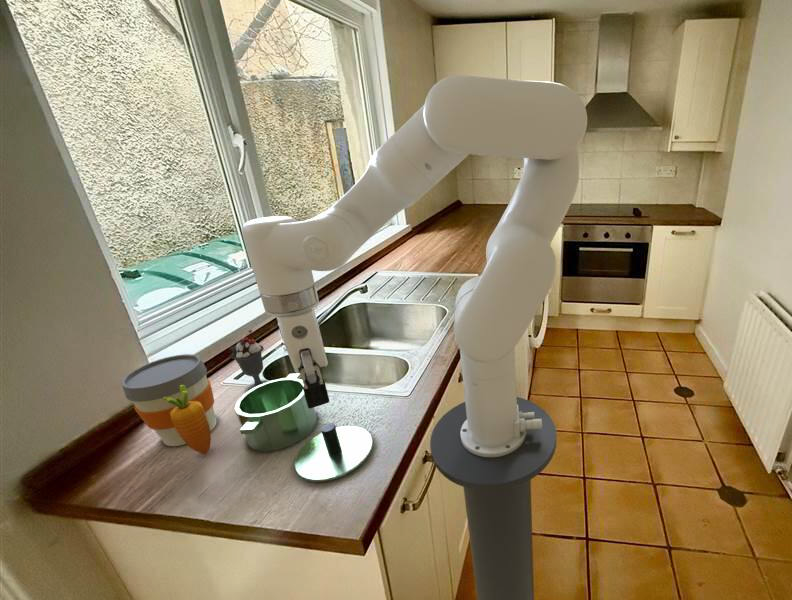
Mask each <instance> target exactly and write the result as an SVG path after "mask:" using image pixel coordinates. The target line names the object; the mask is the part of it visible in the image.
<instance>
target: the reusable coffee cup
mask: <svg viewBox="0 0 792 600" xmlns="http://www.w3.org/2000/svg"><path fill="white" fill-rule="evenodd" d="M207 373H208V369H207V367H206V366H205V363H204V362H203V360H202V359H201V357H200V356H199V355H197V354H191V353H185V354H177V355H171V356H167V357H163V358H159V359H156V360H154V361H151V362H148V363H145V364H143V365H141V366H139V367H137V368H135V369H133V370H132V371H131V372H129V373H128V374H127V375H125V376H123V379H121V386H122V389H123V392H124V395H125V398H126V399H127V400H128V401H130V402H132V404H133V405H134V411H135V412H136V413H137V415H138V416H139V417H140V419H141V420H142V421H143V422H144V424H145V425H146V426H147V427H148V428H149V429H151V430H153V431H154V432H155V433H156V435H157V436H158V437H159V438H160V439H161V441H162V442H163V443H164V445H166V446H168V447H179V446H183V445H187V444H186V443H185V442H184V440H183V439H182V438H181V437H180V435H179V433H178V432H177V430H176V428H175V426H174V424H173V422H172V420H171V415H170V412H171V411H172V410H173V409H174V408H175V407H177V406H175V405H174V404H172V403H169V402H167V400H164V399H163V398H164V397H170V398H173V399H175V400H176V398H179V399H180V400H181V392H180V388H179V386H180V385H185V386H186V389H187V392H188V401H198V402H200V403H201V404H202V407H203V409H204V412H205V415H206V418H207V421H208V424H209V428H210V432H211V431H212V430H214V428H215V427H216V426H217V418H216V413H215V409H214V403H215V398H214V393H213V389H212V384H211V381H210V379H209V378H208V377H207ZM176 401H177V400H176Z"/></svg>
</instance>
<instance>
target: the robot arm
mask: <svg viewBox="0 0 792 600" xmlns="http://www.w3.org/2000/svg"><path fill="white" fill-rule="evenodd" d="M587 127H588V113H587V108H586V106H585V103H584V102H583V100H582V98H581V96H580V95H579V94H578V93H577V92H576V91H575V90H573V89H572V88H570V87H569V86H567V85H565V84H562V83H558V82H553V81H541V80H540V81H538V80H524V79H511V78H497V77H487V76H477V75H467V74H466V75H465V74H457V75H456V74H455V75H449V76H446V77H444V78H442V79H440V80H438V81H437V82H436V83H434V85H433V86H432V87H431V88H430V89H429V91H428V93H427V95H426V97H425V101H424V103H423V105H422V106H421V107H420V108H419V109H418V110H417V111H415V112H414V113H413V115H412V116H411V117H410V118H408V120H407V121H406V122H405V123H404V124H403V125H402V126H401V127H399V128H398V129H397V130H396V131H395V132H394V133H393V134H392V135H391V136H390V137H389V138H388V139H386V140H385V142H383V143H382V144H381V145H380V146H379V147H378V148H377V149H376V150H375V151H374V153H373V154H372V155H371V157H370V159H369V161H368V164H367V167H366V170H365V171H364V173H363V174H362V176H360V178H359V179H358V180H357V181H356V182H355V184H354V185H353V186H352V187H351V188H350V189H348V191H347V192H346V193H344V194H343V195H342V196H341V197H340V198H339V199H338V200H337V201H336V202H335V203H334V204H332V205H331V206H330V207H329V208H328V209H327V210H326V211H325V210H324V211H323V212H321V213H319V214H317V215H316V216H314V217H310V218H308V219H306V220H302V221H299V220H298V219H296V218H294V217H293V216H285V215H279V216H277V215H275V216H265V217H259V218H255V219H251V220H248V221H246V222H245V223H244V224H243V226H242V228H241V235H242V239H243V243H244V246H245V249H246V252H247V255H248V259H249V262H250V265H251V270H252V271H253V276H254V278H255V282H256V285H257V289H258V291H259V296H260V299H261V302H262V305H263V309H264V312H265V314H266V315H267V316H269V317H273V318H276V321H277V325H278V328H279V331H280V334H281V337H282V340H283V344H284V347H285V349H286V352H287V356H288V357H289V360H290V363H291V365H292V368H293V370H294V373H295V374H301V378H300V379H301V380H302V381H303V385H304V386H303V387H302V388H303V391H304V395H305V398H306V402H307V406H308V408H314V409H315V408H317V407H320V406H323V405H326V404H328V403H330V398H329V397H330V396H329V394H328V390H327V384H326V381H325V380H323V377H322V376H323V375H322V370H321V368H323V367H325V368H326V367H327V366H328V364H329V361H328V357H327V353H326V350H325V345H324V342H323V337H322V333H321V330H320V326H319V322H318V319H317V315H316V311H315V308H317V307H318V305H320V300H319V295H318V291H317V287H316V282H315V278H314V275H313V272H312V271H314V272H331V271H334V270H337V269H340V268H341V267H342V266H344V265H345V264H346V263H347V262H348V261H349V260H350V259H351V258H352V257H353V256H354V254H355V253H356V252H357V251H359V250H360V249H361V247H363V246H364V245H365V243H367V242H368V241H369V240H370V239H371V238H372V237H373V236H374V235H375V234H376V233H377V232H378V231H380V230H381V229H382V228H383V227H384V226H385V225H386V224H387V223H388V222H390V221H391V220H392V219H393V218H394V217H395V216H397V215H398V214H399V213H401V211H404V210H405V209H407V208H409V207H412V206H413V205H415V204H416V203H417V202H418V201H420V200H421V199H422V198H423V197H424V196H425V195H427V194H428V192H430V190H432V188H434V187H435V186H436V185H437V184H438V183H440V182H441V181H442V180H443V179H444V178H445V177H446V176H447V175H448V174H449V173H451V172H452V171H453V170H454V169H455V168H456V167H458V165H460V163H461V162H463V161H464V160H465V159H466V158H467V157H468V156H469V155H472V156H482V157H493V158H494V157H496V158H511V159H512V158H515V159H517V158H518V159H523V169H522V173H521V175H520V179H519V181H518V184H517V186H516V188H515V189H514V192H513V195H512V197H511V199H510V200H509V203H508V205H507V206H506V209H504V212H503V213H502V216H501V217H500V220H499V221H498V223H497V225H496V226H495V228H494V230H493V231H492V233H491V235H490V236H489V238H488V240H487V244H486V246H485V247H486V248H485V259H486V265H485V266H484V268H483V271H482V273H481V274H480V275H477V276H474V277H471V278H469V279H468V280H466V281H465V282H464V283H463V284H462V285H461V286H460V288H459V290H458V291H457V294H456V297H455V301H454V310H453V311H454V313H453V314H454V317H453V319H454V321H453V334H454V339H455V342H456V345H457V347H458V348H459V354H460V365H461V375H462V376H461V377H462V385H463V394H464V395H463V396H464V402H465V404H466V414H467V420H466V421H465V422H464V424H463V425H462V428H461V433H460V435H461V441H462V444H463V445H464V447H465V448H466V449H467V450H468V451H469V452H471V453H473V454H475V455H478V456H482V457H500V456H504V455H507V454H509V453H511V452H513V451H514V450H516V449H517V448H518V447H519V446H521V444H522V443H523V441H524V439H525V437H526V430H528V429H533V430H540V429H542V420H541V419H535V417H534V412H528V413H522V412H519V407H518V404H517V397H518V396H517V378H516V376H517V375H516V350H515V349H516V348H515V347H516V346H517V344H519V342H520V340H521V339H522V337H523V336H524V334H525V333H526V331H527V330H528V328H529V326H530V324H531V323H532V321H533V319H534V317H535V316H536V315H537V313H538V311H539V309H540V308H541V306H542V305H543V302H544V301H545V299H547V298H546V297H547V296H548V294H549V293H550V290H551V288H552V286H553V283H554V281H555V277H556V272H557V259H556V255H555V252H554V250H553V248H552V245H551V244H552V242H553V240H554V237H555V236H556V234H557V232H558V230H559V228H560V227H561V225H562V223H563V221H564V218H565V216H566V215H567V213H568V212H569V209H570V208H571V205H572V203H573V200H574V198H575V195H576V192H577V189H578V186H579V185H578V184H579V177H580V157H579V150H578V147H579V145H580V143H582V141H583V140H584V137H585V134H586V131H587ZM525 419H528V420H525ZM530 419H532V420H530Z"/></svg>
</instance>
